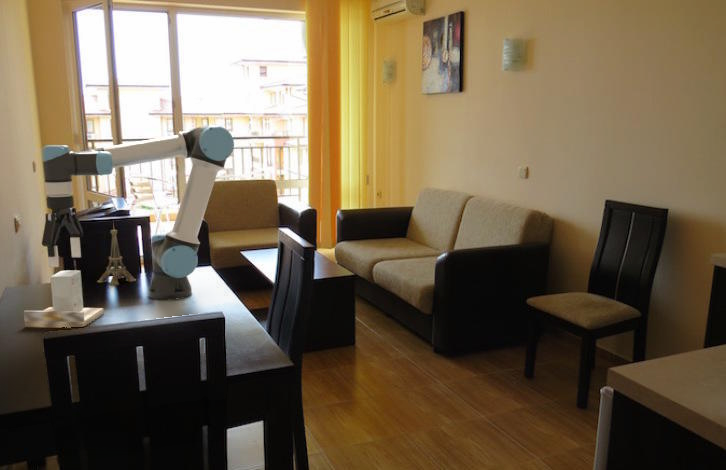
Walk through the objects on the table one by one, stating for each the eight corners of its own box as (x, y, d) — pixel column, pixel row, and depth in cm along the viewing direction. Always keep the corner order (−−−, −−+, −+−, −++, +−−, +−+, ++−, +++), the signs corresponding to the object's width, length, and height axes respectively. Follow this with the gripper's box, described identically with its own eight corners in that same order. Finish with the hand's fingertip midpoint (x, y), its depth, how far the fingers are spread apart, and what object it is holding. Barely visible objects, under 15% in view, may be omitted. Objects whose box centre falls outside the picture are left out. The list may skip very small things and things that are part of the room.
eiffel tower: (136, 280, 234) (133, 219, 229) (113, 286, 225) (109, 223, 220) (120, 276, 239) (116, 217, 235) (97, 281, 230) (92, 220, 226)
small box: (63, 308, 189) (60, 270, 187) (83, 308, 189) (81, 270, 187) (52, 316, 181) (49, 276, 179) (73, 316, 182) (70, 276, 179)
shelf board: (103, 313, 190) (102, 299, 190) (82, 328, 176) (81, 312, 176) (50, 312, 191) (48, 298, 190) (24, 327, 177) (23, 311, 176)
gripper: (68, 190, 191) (73, 253, 195) (24, 200, 166) (31, 271, 170) (90, 191, 191) (95, 253, 195) (49, 200, 166) (56, 271, 170)
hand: (65, 261), depth 182 cm, fingers open, 13 cm apart
